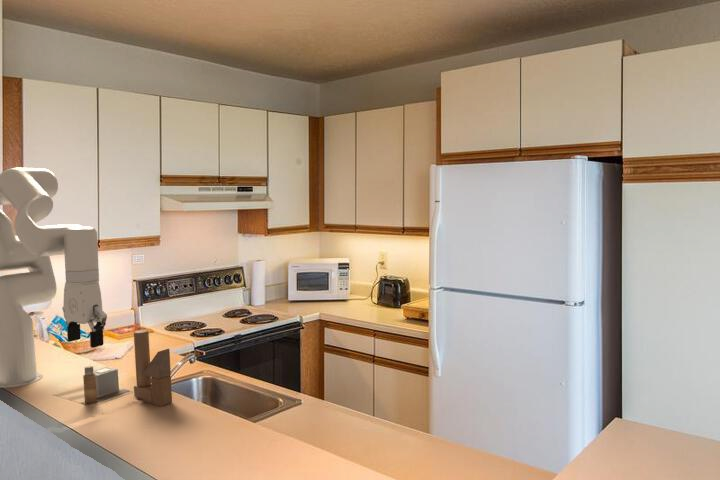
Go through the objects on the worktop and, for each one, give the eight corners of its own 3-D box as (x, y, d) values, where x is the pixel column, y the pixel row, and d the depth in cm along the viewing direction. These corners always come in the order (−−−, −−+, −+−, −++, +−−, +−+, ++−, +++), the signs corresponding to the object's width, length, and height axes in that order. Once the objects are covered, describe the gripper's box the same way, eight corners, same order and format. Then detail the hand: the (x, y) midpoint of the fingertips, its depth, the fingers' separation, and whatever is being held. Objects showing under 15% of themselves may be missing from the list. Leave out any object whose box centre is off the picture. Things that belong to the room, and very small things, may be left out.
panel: (52, 398, 154) (51, 393, 154) (93, 384, 164) (93, 380, 164) (92, 410, 144) (91, 406, 144) (133, 395, 154) (133, 391, 154)
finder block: (87, 392, 154) (86, 371, 154) (107, 386, 159) (106, 365, 159) (98, 396, 152) (97, 374, 151) (119, 389, 157) (117, 368, 156)
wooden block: (161, 407, 145) (157, 336, 144) (134, 399, 151) (129, 332, 150) (173, 402, 148) (169, 333, 147) (145, 395, 154) (142, 329, 153)
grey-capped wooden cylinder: (82, 402, 147) (80, 367, 146) (92, 399, 149) (90, 365, 148) (89, 404, 145) (86, 369, 144) (99, 401, 147) (97, 366, 147)
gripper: (48, 275, 146) (51, 341, 148) (88, 282, 137) (92, 352, 138) (76, 271, 152) (79, 334, 154) (117, 277, 143) (119, 345, 145)
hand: (85, 343), depth 146 cm, fingers open, 9 cm apart
